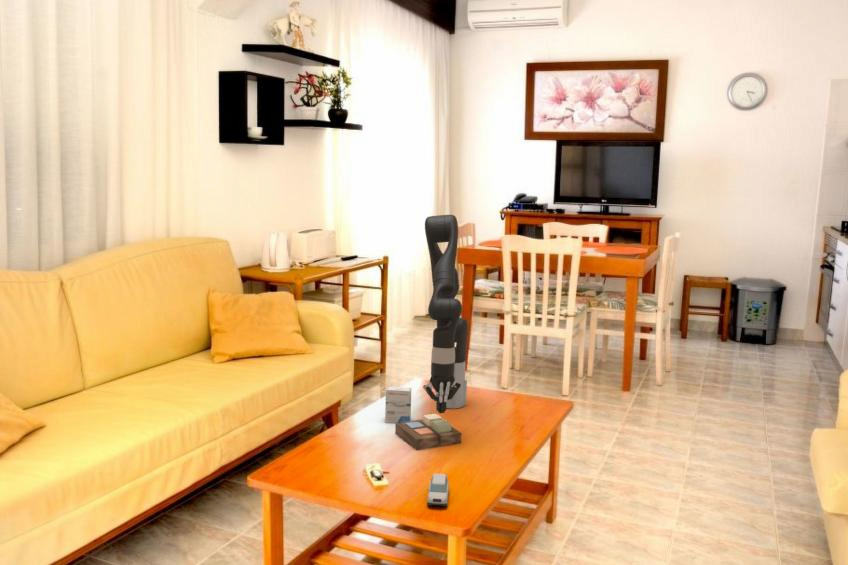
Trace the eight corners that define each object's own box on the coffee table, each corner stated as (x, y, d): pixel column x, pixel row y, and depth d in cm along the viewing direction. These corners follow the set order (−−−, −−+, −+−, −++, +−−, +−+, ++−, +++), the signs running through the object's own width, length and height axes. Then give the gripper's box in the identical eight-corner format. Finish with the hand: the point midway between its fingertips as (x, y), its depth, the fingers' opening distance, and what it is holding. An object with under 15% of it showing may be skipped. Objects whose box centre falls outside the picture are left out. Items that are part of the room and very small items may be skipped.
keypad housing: (438, 427, 256) (438, 417, 256) (461, 443, 242) (461, 432, 242) (395, 433, 249) (395, 423, 249) (416, 450, 235) (416, 439, 235)
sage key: (444, 426, 247) (444, 419, 247) (451, 431, 243) (451, 423, 242) (431, 428, 245) (432, 421, 245) (438, 433, 241) (438, 425, 240)
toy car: (425, 509, 195) (426, 491, 194) (428, 488, 208) (429, 471, 207) (447, 510, 195) (448, 492, 194) (449, 489, 207) (450, 472, 207)
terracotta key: (426, 435, 244) (426, 427, 244) (433, 439, 240) (433, 432, 240) (413, 436, 242) (414, 429, 242) (420, 441, 238) (420, 434, 238)
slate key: (418, 428, 250) (418, 421, 250) (424, 433, 246) (424, 425, 246) (405, 430, 248) (405, 423, 248) (411, 435, 244) (411, 427, 244)
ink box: (411, 419, 264) (411, 387, 262) (409, 424, 259) (410, 391, 257) (386, 418, 265) (387, 385, 263) (384, 422, 260) (385, 389, 258)
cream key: (435, 420, 253) (435, 413, 252) (441, 425, 249) (441, 417, 248) (423, 422, 251) (423, 415, 250) (429, 426, 246) (429, 419, 246)
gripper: (455, 355, 247) (453, 407, 249) (419, 358, 241) (417, 411, 243) (466, 361, 240) (464, 413, 242) (429, 364, 234) (427, 418, 237)
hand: (441, 412), depth 243 cm, fingers closed
